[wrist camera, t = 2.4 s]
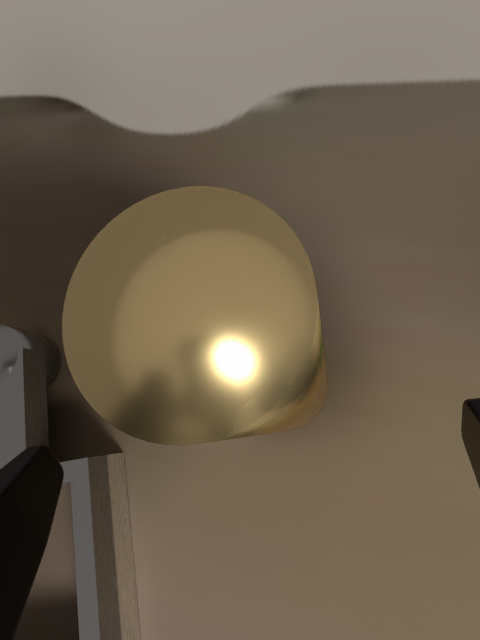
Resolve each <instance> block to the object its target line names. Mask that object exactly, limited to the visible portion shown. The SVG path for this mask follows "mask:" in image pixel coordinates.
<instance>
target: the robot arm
mask: <svg viewBox="0 0 480 640" xmlns="http://www.w3.org/2000/svg"><path fill="white" fill-rule="evenodd" d="M461 432H462V438H463V442H464V445H465V448H466V451H467V453H468V456H469V459H470V462H471V465H472V468H473V471H474V473H475V476H476V479H477V482H478V485H479V488H480V398H475V399H467V400H465V401H464V403H463V409H462V426H461ZM63 478H64V471H63V467H62V466H61V464H60V462H59V461H58V459H57V458H56V456H55V455H54V453H53V451H52V450H51V448H50V447H49V446H47V445H37V446H30V447H28V448H26V449H25V450H24V451H23V452H21V453H20V454H19V455H18V456H16V457H15V458H14V459H13V460H11V461H10V462H9V463H8V464H6V465H5V466H4V467H3V468H1V469H0V640H13V638H14V636H15V633H16V630H17V627H18V624H19V622H20V619H21V616H22V613H23V610H24V607H25V605H26V602H27V599H28V596H29V593H30V590H31V588H32V585H33V582H34V579H35V576H36V573H37V571H38V568H39V565H40V562H41V559H42V557H43V554H44V551H45V548H46V544H47V541H48V537H49V534H50V530H51V526H52V522H53V518H54V514H55V510H56V506H57V502H58V498H59V494H60V491H61V487H62V483H63Z"/></svg>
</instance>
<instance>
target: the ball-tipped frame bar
mask: <svg viewBox="0 0 480 640" xmlns="http://www.w3.org/2000/svg"><path fill="white" fill-rule="evenodd" d="M60 363H61V357H60V352H59V349H58V347H57V346H56V344H55V343H54V342H53V341H51V340H50V339H48V338H45V337H42V336H38V335H35V334H32V333H28V332H25V331H22V330H18V329H15V328H12V327H8V326H5V325H2V324H0V469H1V468H3V467H4V466H5V465H6V464H8V463H9V462H10V461H11V460H13V459H14V458H15V457H16V456H18V455H19V454H20V453H21V452H23V451H24V450H25V449H26V448H28V447H30V446H37V445H47V446H49V432H48V410H47V388H46V387H48V386H49V385H50V384H51V383H52V382H53V381H54V379H55V378H56V376H57V374H58V372H59V369H60ZM60 464H61V466H62V467H63V471H64V478H63V483H68V482H70V484H71V501H72V519H73V536H74V554H75V571H76V589H77V606H78V624H79V640H140V629H139V618H138V607H137V596H136V585H135V574H134V563H133V552H132V541H131V530H130V519H129V507H128V496H127V485H126V474H125V463H124V452H123V453H116V454H109V455H102V456H94V457H87V458H82V459H76V460H70V461H65V462H60Z"/></svg>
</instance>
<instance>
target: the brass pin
mask: <svg viewBox="0 0 480 640" xmlns="http://www.w3.org/2000/svg"><path fill="white" fill-rule="evenodd" d="M62 337H63V345H64V352H65V356H66V360H67V364H68V367H69V369H70V372H71V374H72V377H73V379H74V382H75V383H76V385H77V387H78V389H79V390H80V392H81V394H82V395H83V397H84V398H85V399H86V401H87V402H88V403H89V404H90V406H91V407H92V408H93V409H94V410H95V411H96V412H97V413H98V414H99V415H100V416H101V417H102V418H103V419H105V420H106V421H107V422H109V423H110V424H112V425H113V426H114V427H116V428H117V429H119V430H121V431H123V432H125V433H127V434H129V435H131V436H133V437H136V438H139V439H142V440H145V441H148V442H153V443H158V444H163V445H193V444H202V443H208V442H215V441H222V440H228V439H235V438H242V437H248V436H255V435H262V434H268V433H275V432H281V431H288V430H293V429H297V428H299V427H302V426H304V425H306V424H307V423H309V422H310V421H311V420H313V419H314V418H315V417H316V416H317V414H318V413H319V412H320V410H321V409H322V407H323V405H324V403H325V400H326V397H327V392H328V378H327V370H326V362H325V354H324V345H323V337H322V329H321V321H320V313H319V305H318V296H317V289H316V283H315V277H314V273H313V270H312V267H311V263H310V260H309V258H308V256H307V253H306V251H305V249H304V247H303V245H302V243H301V242H300V240H299V239H298V237H297V236H296V234H295V233H294V231H293V230H292V229H291V228H290V226H289V225H288V224H287V223H286V222H285V221H284V220H283V219H282V218H281V217H280V216H279V215H278V214H277V213H275V212H274V211H273V210H272V209H271V208H269V207H268V206H266V205H264V204H263V203H261V202H260V201H258V200H256V199H254V198H252V197H250V196H247V195H245V194H243V193H240V192H237V191H233V190H230V189H225V188H219V187H213V186H191V187H181V188H176V189H172V190H167V191H164V192H161V193H158V194H155V195H152V196H150V197H148V198H145V199H143V200H141V201H139V202H137V203H135V204H134V205H132V206H131V207H129V208H127V209H126V210H124V211H123V212H121V213H120V214H119V215H118V216H116V217H115V218H114V219H113V220H111V221H110V222H109V223H108V224H107V225H106V226H105V227H104V228H103V229H102V230H101V231H100V232H99V233H98V235H97V236H96V237H95V238H94V239H93V241H92V242H91V243H90V244H89V246H88V247H87V249H86V250H85V252H84V254H83V255H82V257H81V258H80V260H79V262H78V264H77V266H76V268H75V270H74V272H73V275H72V278H71V280H70V283H69V286H68V289H67V293H66V297H65V301H64V308H63V316H62Z"/></svg>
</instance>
